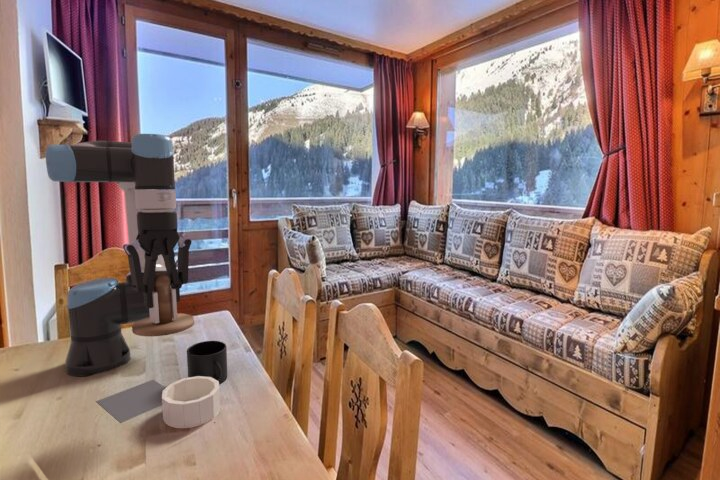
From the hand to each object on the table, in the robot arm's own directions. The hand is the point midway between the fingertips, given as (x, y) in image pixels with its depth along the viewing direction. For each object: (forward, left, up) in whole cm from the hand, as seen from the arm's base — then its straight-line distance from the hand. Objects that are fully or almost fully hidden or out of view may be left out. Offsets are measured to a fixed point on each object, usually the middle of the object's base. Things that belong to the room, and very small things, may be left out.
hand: (163, 319), depth 86 cm
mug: (-4, +13, -22) cm, 26 cm away
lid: (0, 0, -2) cm, 2 cm away
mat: (-9, -2, -22) cm, 24 cm away
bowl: (+5, +3, -22) cm, 22 cm away
